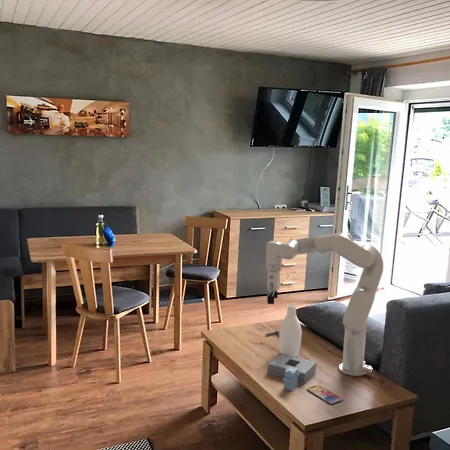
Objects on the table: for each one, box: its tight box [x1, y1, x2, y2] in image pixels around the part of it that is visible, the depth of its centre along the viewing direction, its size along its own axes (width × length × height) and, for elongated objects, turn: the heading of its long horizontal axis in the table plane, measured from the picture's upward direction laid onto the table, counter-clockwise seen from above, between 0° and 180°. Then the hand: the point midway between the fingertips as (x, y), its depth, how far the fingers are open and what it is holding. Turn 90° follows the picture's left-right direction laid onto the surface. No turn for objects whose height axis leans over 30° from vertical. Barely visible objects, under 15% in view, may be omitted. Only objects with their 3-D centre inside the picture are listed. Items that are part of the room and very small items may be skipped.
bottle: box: [278, 304, 303, 357], centre depth 256 cm, size 11×11×25 cm
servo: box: [282, 366, 300, 392], centre depth 224 cm, size 4×9×8 cm, turn 150°
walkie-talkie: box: [264, 329, 280, 337], centre depth 283 cm, size 9×4×20 cm
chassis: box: [267, 353, 317, 385], centre depth 238 cm, size 18×14×5 cm
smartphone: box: [306, 384, 343, 406], centre depth 218 cm, size 7×1×15 cm
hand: (272, 300), depth 252 cm, fingers open, 9 cm apart
